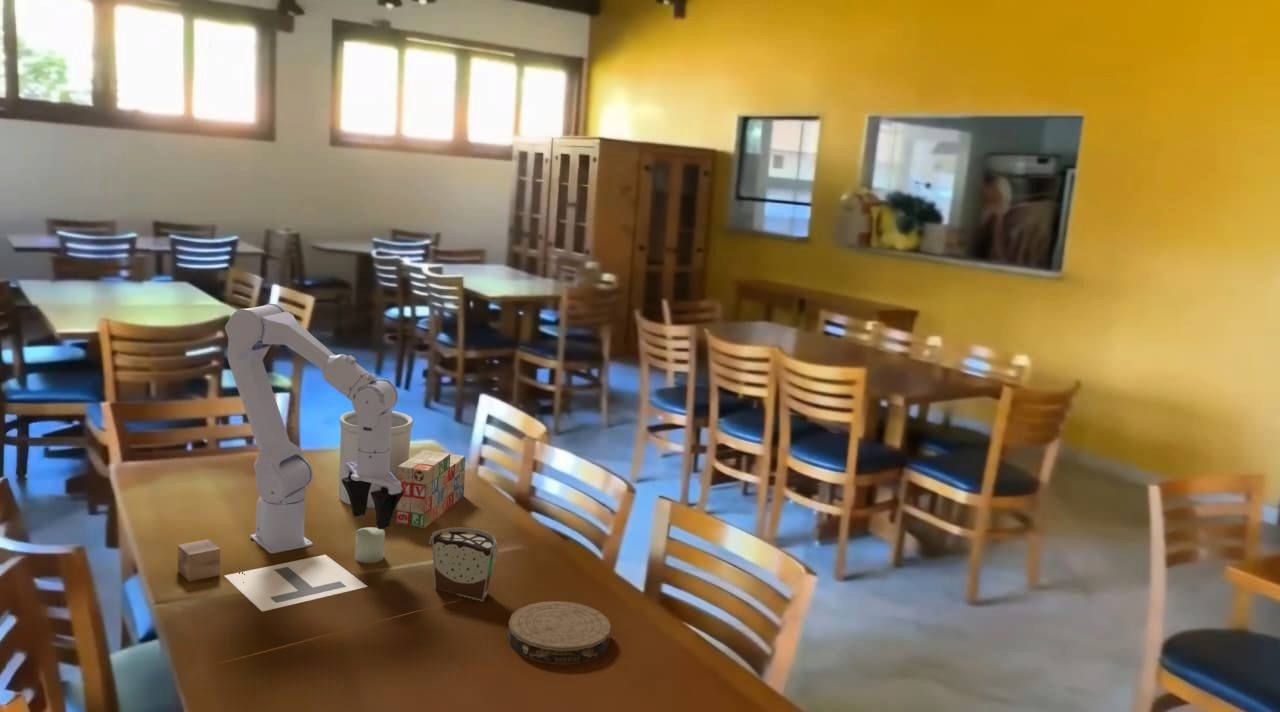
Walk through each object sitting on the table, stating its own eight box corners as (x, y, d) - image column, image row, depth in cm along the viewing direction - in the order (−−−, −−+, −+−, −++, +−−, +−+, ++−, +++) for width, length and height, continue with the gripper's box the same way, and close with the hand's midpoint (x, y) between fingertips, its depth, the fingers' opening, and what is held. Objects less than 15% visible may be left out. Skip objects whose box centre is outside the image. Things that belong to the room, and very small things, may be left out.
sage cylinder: (350, 555, 180) (352, 529, 179) (377, 552, 183) (378, 526, 182) (360, 565, 176) (362, 538, 175) (387, 561, 179) (389, 534, 178)
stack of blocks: (437, 492, 218) (440, 438, 216) (464, 496, 217) (467, 442, 215) (394, 524, 198) (397, 464, 195) (424, 529, 196) (427, 469, 194)
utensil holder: (423, 498, 214) (427, 419, 210) (370, 514, 201) (374, 431, 198) (375, 481, 221) (378, 405, 218) (321, 497, 209) (324, 416, 205)
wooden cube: (177, 573, 167) (177, 544, 166) (208, 566, 171) (208, 539, 170) (189, 583, 164) (189, 554, 163) (219, 576, 167) (219, 548, 166)
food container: (507, 590, 172) (511, 535, 170) (491, 603, 166) (494, 547, 164) (445, 575, 175) (448, 521, 174) (426, 587, 170) (429, 532, 168)
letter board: (223, 576, 167) (224, 575, 167) (325, 555, 179) (325, 554, 179) (262, 612, 155) (262, 611, 155) (367, 587, 168) (367, 586, 168)
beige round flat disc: (546, 609, 166) (548, 592, 166) (628, 638, 159) (629, 620, 158) (486, 644, 153) (487, 625, 152) (572, 677, 145) (573, 658, 144)
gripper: (331, 442, 177) (329, 514, 180) (377, 462, 168) (374, 538, 171) (365, 436, 183) (363, 506, 185) (412, 456, 173) (409, 529, 176)
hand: (371, 521), depth 178 cm, fingers open, 7 cm apart
